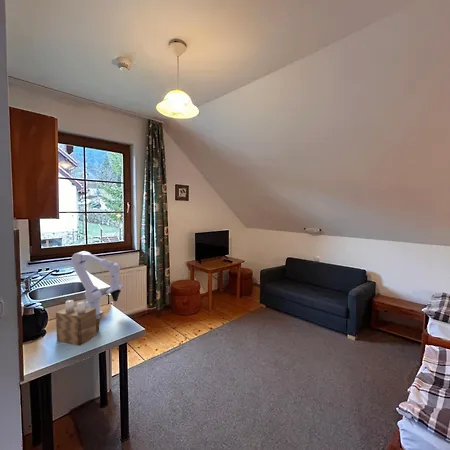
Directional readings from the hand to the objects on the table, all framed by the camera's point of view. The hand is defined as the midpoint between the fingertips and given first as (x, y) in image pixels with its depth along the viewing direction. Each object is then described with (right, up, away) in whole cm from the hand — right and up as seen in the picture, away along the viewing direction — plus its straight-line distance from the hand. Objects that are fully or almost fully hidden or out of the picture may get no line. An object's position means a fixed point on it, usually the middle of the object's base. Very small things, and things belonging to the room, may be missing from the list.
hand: (115, 300), depth 182 cm
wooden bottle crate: (-9, -12, -31) cm, 34 cm away
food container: (-7, -12, -23) cm, 26 cm away
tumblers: (-9, +4, -33) cm, 34 cm away
